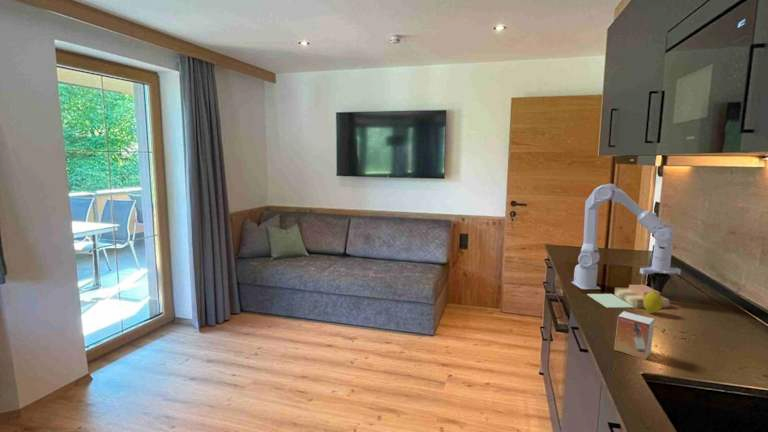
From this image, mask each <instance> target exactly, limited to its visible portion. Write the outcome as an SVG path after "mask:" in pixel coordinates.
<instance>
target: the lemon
mask: <svg viewBox="0 0 768 432" xmlns="http://www.w3.org/2000/svg"><path fill="white" fill-rule="evenodd" d="M660 295H661V294H660ZM660 295H658V294H657V293H655V292H650V293H648V294H646V295H645V297H644V300H643V305H644V307H645V308H644V309H645V310H646V311H647V312H649V313H650V314H654V313H657V312H659V311H661V309H662V308H661V307H662V299H661V297H660Z"/></svg>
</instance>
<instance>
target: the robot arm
mask: <svg viewBox="0 0 768 432" xmlns="http://www.w3.org/2000/svg"><path fill="white" fill-rule="evenodd" d="M609 200H611V201H610V202H614V203H620V205H623V207H625V208H626V209H628V210H629V211H630V212H631V213H632V214H633V215H634V216H636V217H637V222H638V224H640V225H641V226H642V227H643V228H645V229H646V230H647V231H648V232H650V234H653V238H654V239H655V241H654V245H653V253H652V260H651V266H649V267H640V268H639V274H641V275H649V277H650V279H651V281H652V285H653V289H654V290H656V291H658V292H660V294H662V292H663V289H664V287H665V285H666V284H667V283H668V282H669V280H671V278H672V277H671V275H675V274H676V275H681V271H682V269H681V268H679V267H671V262H672V260H671V259H672V253H673V243H674V242H673V239H674V237H675V230H674V228H673V227H672V226H671V225H669V224H668V223H667V222H666V221H665V222H664V221H663V220H661V219H660V218H659V217H658V216H657V213H656V212H654V211H653V212H652V211H651V210H645V209H643V208H642V207H641V206H640V205H639V203H637V202H636V201H635V200H633V199H632V198H631V196H629V195H628V194H627V193H626V192H625V191H624V190H622V189H621V188H620V187H617V185H615V184H613V183H606V184H601V185H599V186H597V187H596V188H594V189H593V190H592V192H591V194H590V195H589V196H588V198H587V199H586V200H585V204H584V222H583V223H584V225H583V241H582V246H581V249H580V253H579V255H578V258H577V262H578V264H576V265H575V267H574V272H573V281H571V283H572V284H573V285H574V286H576V287H578V288H579V289H580V290H601V287H600V286H597V281H598V271H599V270H598V269H599V265H598V262H599V261H600V258H601V254H600V253H599V247H598V244H597V243H598V242H597V241H598V228H599V227H598V225H599V210H600V209H599V208H600V206H601V205H603V204H604V203H606V202H607V201H609Z"/></svg>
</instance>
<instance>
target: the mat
mask: <svg viewBox="0 0 768 432" xmlns="http://www.w3.org/2000/svg"><path fill="white" fill-rule="evenodd" d="M586 296H588V297H590V298H591V299H593V300H594V301H596V302H597V303H599V304H600V305H602V306H604V307H605V308H607V309H635V307H634V306H633V305H631V304H629V303H627V302H626V301H624V300H622V299H621V298H619V297H617V296H615V295H614V294H613V293H587V294H586Z"/></svg>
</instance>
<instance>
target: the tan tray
mask: <svg viewBox="0 0 768 432" xmlns="http://www.w3.org/2000/svg"><path fill="white" fill-rule="evenodd" d="M613 295H615V296H616V297H618V298H620V299H622V300H623V301H625V302H627V303H628V304H630V305H632V306H633V307H634V308H636V309H645V307H644V305H643V300H644V298H643V297H642V296H640V295H638V294H636V293H634V292H632V291H630V290H629V287H614V294H613ZM660 297H661V299H662V307H661V309H667V308H666V307H670V299H668V298H666V297H664V296H663V295H661V294H660Z"/></svg>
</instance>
